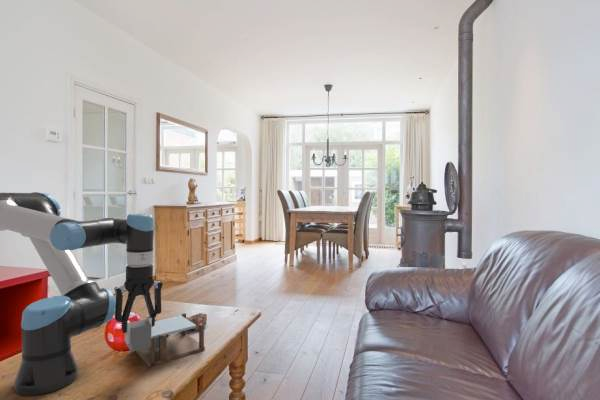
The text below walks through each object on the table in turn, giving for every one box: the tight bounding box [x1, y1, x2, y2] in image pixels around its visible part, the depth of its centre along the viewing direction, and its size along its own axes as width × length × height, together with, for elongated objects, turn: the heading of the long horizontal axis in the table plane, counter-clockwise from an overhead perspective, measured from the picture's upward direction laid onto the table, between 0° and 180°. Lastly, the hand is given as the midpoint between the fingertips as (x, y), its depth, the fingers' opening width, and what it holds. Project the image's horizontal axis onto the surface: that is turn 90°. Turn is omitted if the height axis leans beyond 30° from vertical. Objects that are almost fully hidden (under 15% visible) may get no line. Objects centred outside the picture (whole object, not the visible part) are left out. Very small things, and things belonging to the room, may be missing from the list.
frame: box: [135, 312, 206, 367], centre depth 126 cm, size 19×18×9 cm
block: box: [125, 319, 151, 353], centre depth 110 cm, size 6×6×7 cm
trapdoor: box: [147, 315, 196, 350], centre depth 125 cm, size 16×13×4 cm
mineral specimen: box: [186, 312, 208, 332], centre depth 146 cm, size 12×8×7 cm
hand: (138, 339), depth 110 cm, fingers closed on block, 5 cm apart
